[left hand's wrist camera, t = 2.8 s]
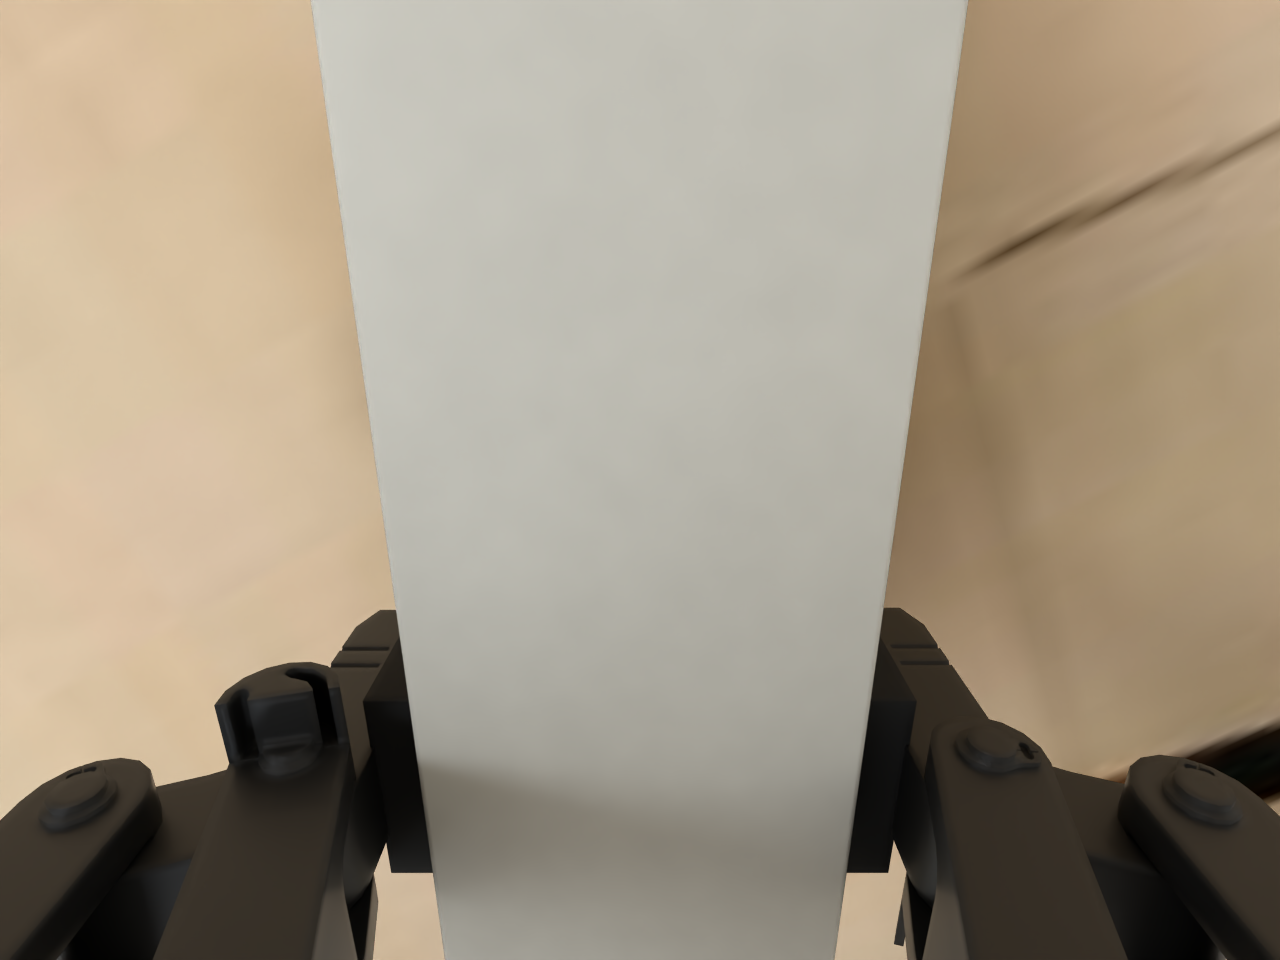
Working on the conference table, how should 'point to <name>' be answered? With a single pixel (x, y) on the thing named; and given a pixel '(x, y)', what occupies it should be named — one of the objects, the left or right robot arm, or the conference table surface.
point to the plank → (639, 438)
